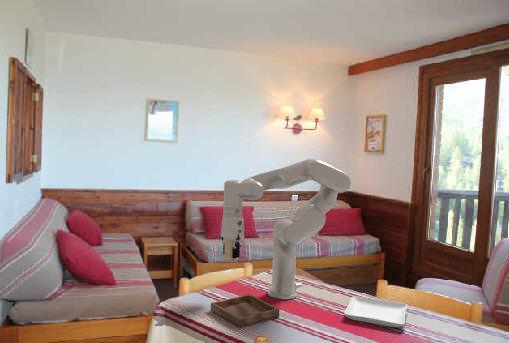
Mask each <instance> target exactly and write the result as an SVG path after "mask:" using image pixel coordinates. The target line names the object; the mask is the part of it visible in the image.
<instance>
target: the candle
mask: <svg viewBox="0 0 509 343" xmlns="http://www.w3.org/2000/svg"><path fill="white" fill-rule="evenodd" d="M236 240H237V239H236ZM236 244H237V242H236ZM233 248H234V247H233V241H232V240H229V239H228V238H226V239H225V250H224V254H223V255H224V256H223V257H224V259H223V260H224V261H225V262H226V263H237V262H238V261H239V258H232V249H233Z"/></svg>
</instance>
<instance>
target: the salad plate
mask: <svg viewBox="0 0 509 343" xmlns="http://www.w3.org/2000/svg"><path fill="white" fill-rule="evenodd" d="M408 307H409V305H408V304H407V303H402V302H395V301H390V300H389V301H388V300H385V299H378V298H377V299H376V298H372V297H371V298H370V297H363V296H358V295H355V296H354V295H353V296H352V297H351V299H350V301H349V303H348V305H347V307H346V308H345V309H344V312H343V315H344V316H345V317H346V318H348V319H349V320H354V321H357V322H362V323H368V324H373V325H378V326H384V327H390V328H400V327H404V325H405V323H406V314H407V310H408Z"/></svg>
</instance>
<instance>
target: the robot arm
mask: <svg viewBox="0 0 509 343" xmlns="http://www.w3.org/2000/svg"><path fill="white" fill-rule="evenodd" d="M309 181H313V182H316V183H318V184H319V185H320V186H319V187H320V188H319V190H318V192H317V194H315V195H314V196H313V197H311V198H310V199H309V200H308V201H306V202H305V203H304V204H302V205H300V207H298V208H297V209H296V210H295V213H294V219H295V221H293V220H290V219H288V218H282V219H278V221H276V222H275V223H274V225H273V228H272V244H273V245H272V246H273V247H272V248H273V250H272V251H273V252H272V269H271V270H272V272H271V287H270V288H268V289H267V295H268V296H269V297H271V298H274V299H278V300H291V299H295V298H297V297H298V295H299V294H298V290H297V289H299V288H302V287H303V282H297V283H296V281H295V279H296V265H297V264H296V261H297V248H298V247H301V246H302V245H303V244H305V243H306V242H307V241H309V240H310V239H312V237H314V236H315V235H316V234H317V233H319V232H320V231H321V230H322V229H323V228H324V226H325V224H326V221H327V219H326V214H327V213H328V212H329V211H330V210H331V209H332V208H334V205H335V204H336V201H337V198H338V194H342V193H345V192H347V191H348V190H350V188H351V182H352V181H351V178H350V176H349V175H348V174H347V173H345V172H344V171H342V170H340V169H338V168H336V167H334V166H332V165H330V164H328V163H326V162H323V161H322V160H319V159H313V158H309V159H304V160H301V161H299V162H296V163H293V164H290V165H286V166H282V167H281V168H278V169H273V170H270V171H267V172H262V173H259V174H256V175H254V176H250V177H247V178H245V179H243V180H242V181H241V180H236V179H228V180H226V181H225V182H224V184H223V208H222V209H223V210H222V218H221V219H222V220H221V231H220V233H219V235H220V237H221V240H222V245H223V246H222V250H223V252H222V255H224V250H225V239H226V238H228V239H229V240H232V241H233V247H234V248H233V249H232V258H238V259H239V258H240V253H241V252H240V251H241V250H240V249H241V248H242V246H243V244H244V243H245V222H244V221H245V220H244V217H243V200H250V201H251V200H252V201H257V200H258V199H260V198H261V197H262V196H263V194H264V192H265V191H268V190H277V189H278V190H279V189H282V190H283V189H289V188H292V187H294V186H295V187H296V186H297V185H300V184H303V183H305V182H309ZM236 239H237V240H236ZM236 242H237V244H236Z"/></svg>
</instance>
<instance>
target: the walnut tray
mask: <svg viewBox="0 0 509 343" xmlns="http://www.w3.org/2000/svg"><path fill="white" fill-rule="evenodd" d="M210 312H211V313H213V314H215V315H217V316H218V317H220V318H222V319H224V320H225V321H227V322H228V323H231V325H233V326H235V327H237V328H238V329H241V328H246V327H249V326H251V325H255V324H260V323H263V322H266V321H270V320H274V319H276V318H279V317H280V308H278V307H276V306H275V305H272V304H270V303H268V302H266V301H264V300H263V299H260V298H258V297H257V296H254V295H252V294H250V293H249V294H245V295H240V296H239V295H238V296H235V297H231V298H227V299H223V300H218V301H214V302H210Z"/></svg>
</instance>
